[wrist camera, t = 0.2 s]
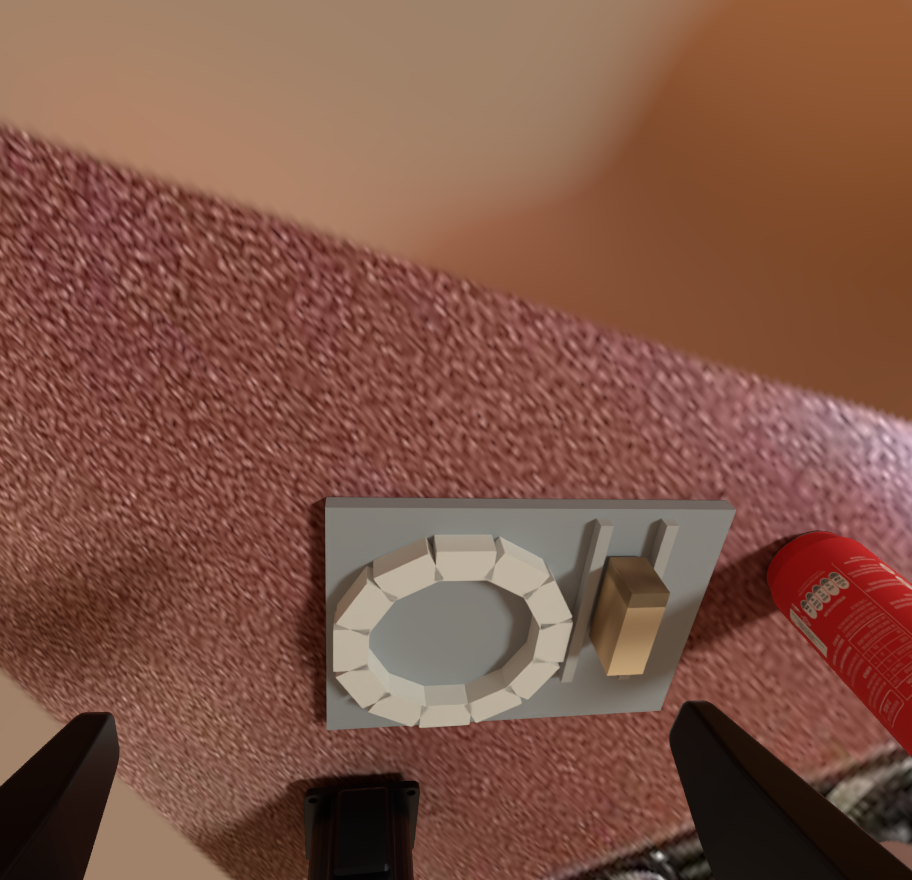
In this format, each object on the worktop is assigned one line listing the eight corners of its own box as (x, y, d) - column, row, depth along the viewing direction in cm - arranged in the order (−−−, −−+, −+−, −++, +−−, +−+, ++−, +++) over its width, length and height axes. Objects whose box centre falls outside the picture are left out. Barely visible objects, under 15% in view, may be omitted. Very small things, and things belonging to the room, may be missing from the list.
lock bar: (621, 634, 29) (642, 674, 27) (588, 635, 29) (606, 675, 26) (645, 556, 27) (670, 593, 24) (609, 556, 26) (631, 594, 24)
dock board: (654, 698, 33) (669, 729, 32) (327, 716, 30) (325, 751, 28) (727, 500, 27) (751, 524, 25) (326, 497, 24) (322, 524, 22)
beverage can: (830, 506, 28) (1105, 717, 18) (864, 562, 31) (1127, 779, 20) (742, 566, 29) (953, 798, 19) (782, 615, 32) (989, 848, 21)
